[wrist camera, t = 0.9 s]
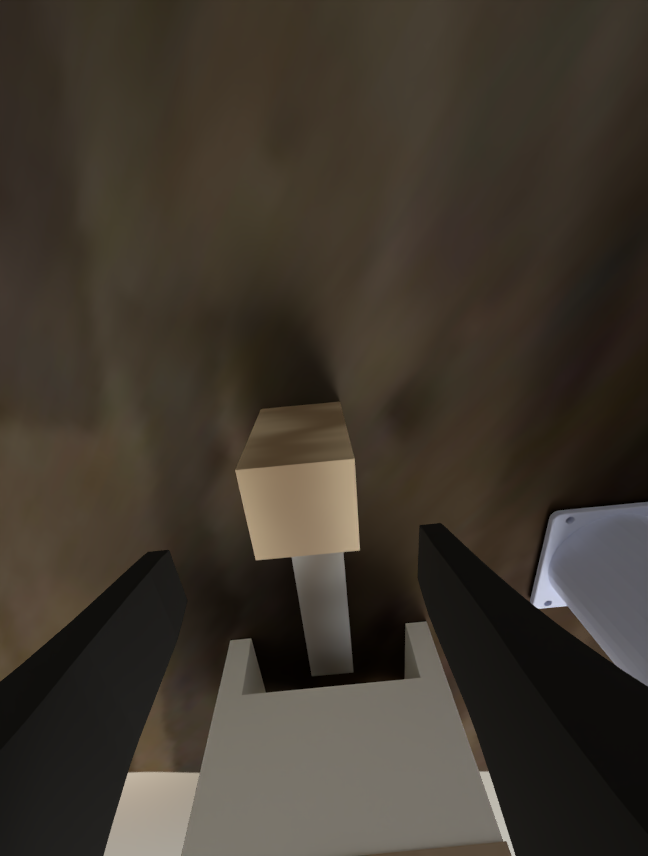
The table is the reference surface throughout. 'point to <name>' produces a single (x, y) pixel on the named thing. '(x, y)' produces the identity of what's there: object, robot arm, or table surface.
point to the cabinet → (340, 767)
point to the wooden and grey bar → (306, 516)
